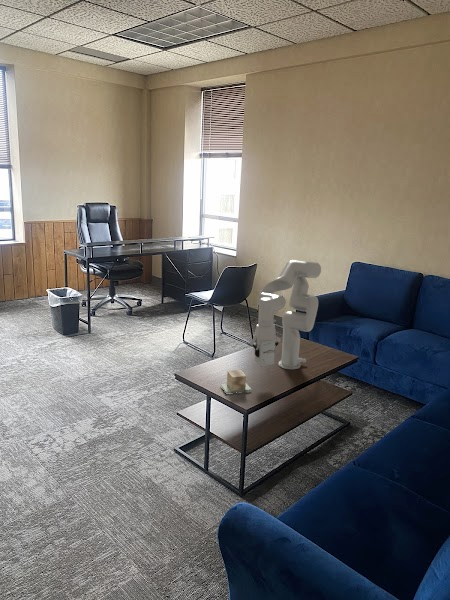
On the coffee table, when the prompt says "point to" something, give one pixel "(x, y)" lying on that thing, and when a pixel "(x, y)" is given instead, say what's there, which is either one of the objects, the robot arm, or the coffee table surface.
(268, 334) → the robot arm
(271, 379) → the coffee table surface
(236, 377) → the beech block
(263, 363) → the supplement box
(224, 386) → the sage board
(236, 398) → the coffee table surface
